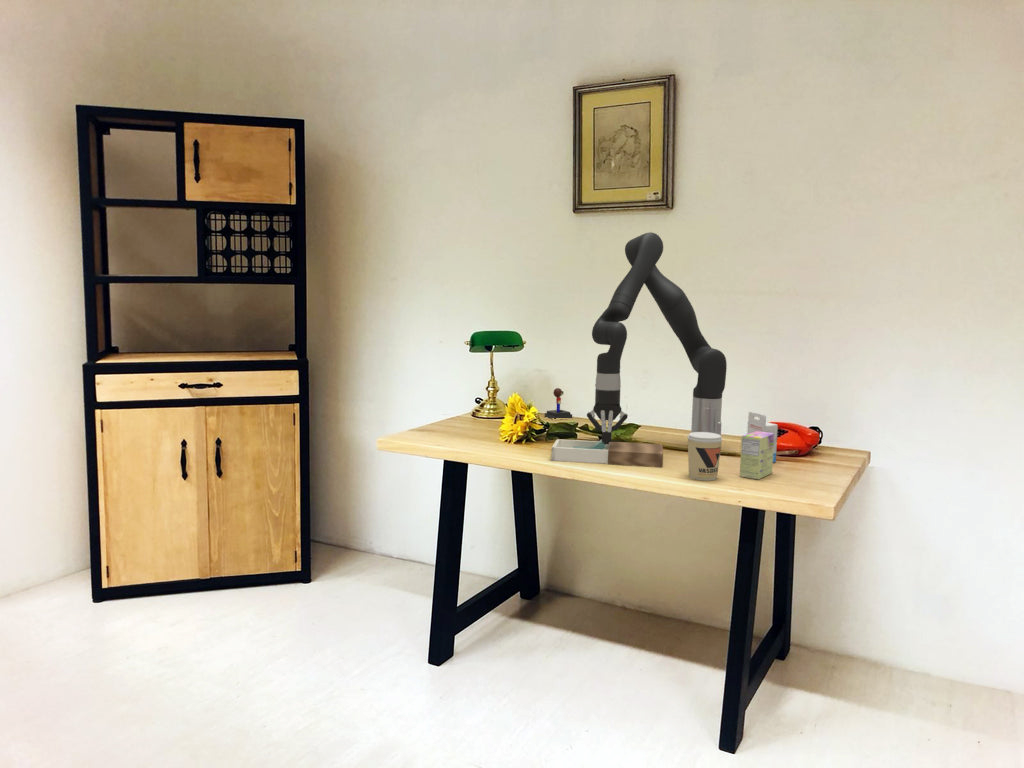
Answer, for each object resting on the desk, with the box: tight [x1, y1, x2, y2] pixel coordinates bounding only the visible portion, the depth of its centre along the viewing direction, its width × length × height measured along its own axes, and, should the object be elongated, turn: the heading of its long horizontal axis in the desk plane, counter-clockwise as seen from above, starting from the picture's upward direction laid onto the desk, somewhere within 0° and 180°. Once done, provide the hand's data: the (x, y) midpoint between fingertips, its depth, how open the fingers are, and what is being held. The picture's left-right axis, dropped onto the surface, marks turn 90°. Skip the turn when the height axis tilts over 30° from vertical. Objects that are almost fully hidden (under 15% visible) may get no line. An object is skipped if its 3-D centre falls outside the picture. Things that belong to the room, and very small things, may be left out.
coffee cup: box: [687, 432, 723, 481], centre depth 212 cm, size 9×9×12 cm
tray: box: [551, 438, 612, 465], centre depth 235 cm, size 17×13×4 cm
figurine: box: [544, 387, 573, 419], centre depth 304 cm, size 8×8×12 cm
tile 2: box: [589, 438, 606, 450], centre depth 234 cm, size 5×5×2 cm
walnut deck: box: [607, 441, 664, 468], centre depth 232 cm, size 16×14×4 cm
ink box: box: [746, 411, 779, 463], centre depth 234 cm, size 9×5×15 cm, turn 21°
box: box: [739, 431, 774, 480], centre depth 216 cm, size 10×6×12 cm, turn 141°
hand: (606, 443), depth 233 cm, fingers closed
